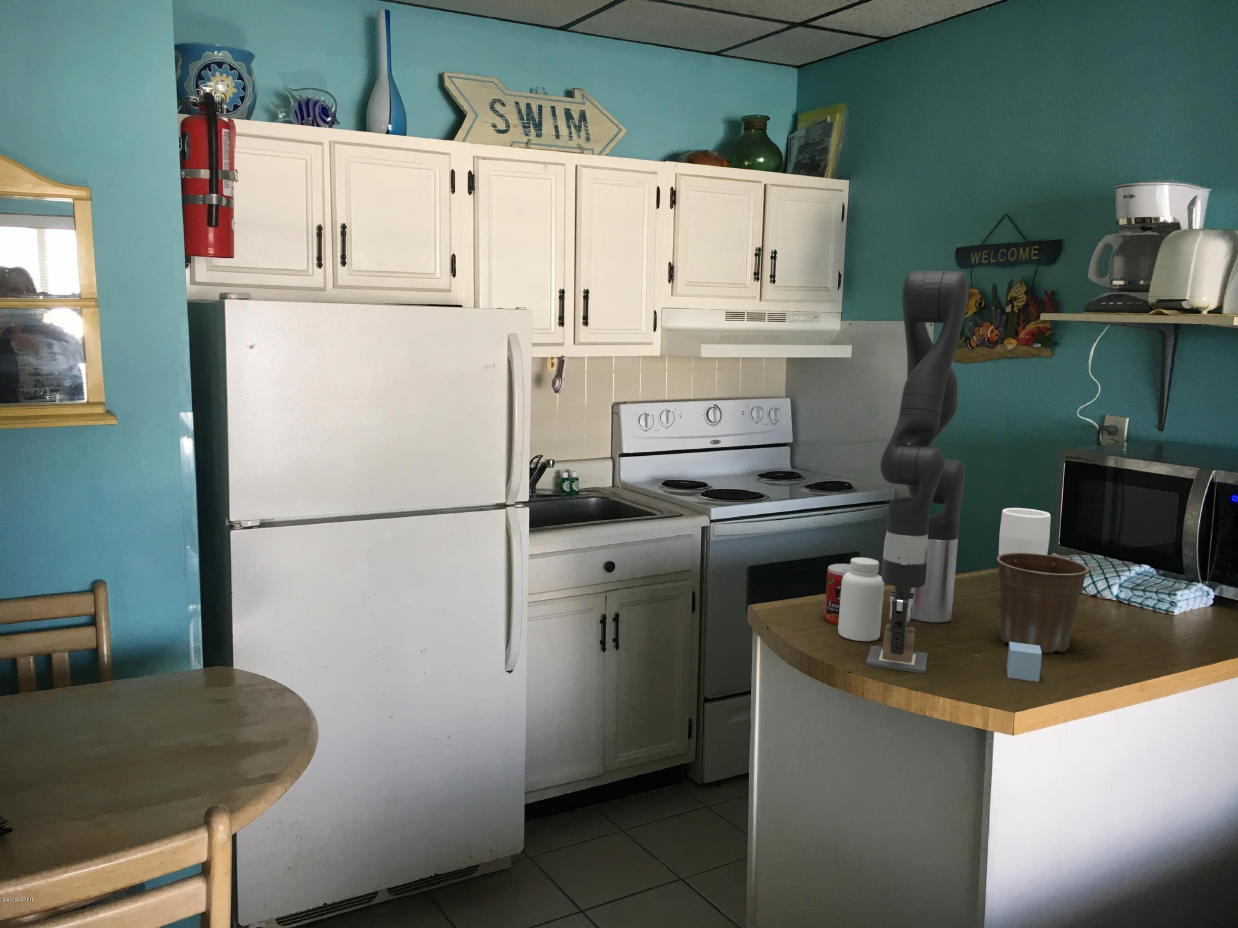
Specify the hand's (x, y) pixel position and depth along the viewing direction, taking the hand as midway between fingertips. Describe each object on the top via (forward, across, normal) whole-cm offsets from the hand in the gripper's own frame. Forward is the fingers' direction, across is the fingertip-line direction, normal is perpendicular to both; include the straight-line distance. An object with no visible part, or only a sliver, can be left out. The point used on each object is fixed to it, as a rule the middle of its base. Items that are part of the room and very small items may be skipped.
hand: (898, 646), depth 175 cm
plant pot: (+3, -22, +24) cm, 33 cm away
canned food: (+3, -21, -12) cm, 24 cm away
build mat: (+3, 0, 0) cm, 3 cm away
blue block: (+3, -2, +21) cm, 21 cm away
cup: (+3, -47, +22) cm, 52 cm away
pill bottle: (+3, -12, -8) cm, 15 cm away
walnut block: (+2, 0, 0) cm, 2 cm away
